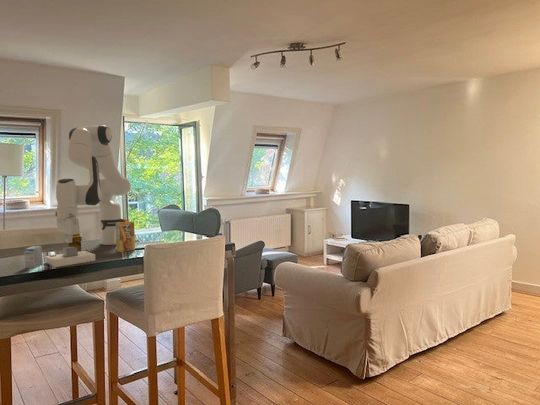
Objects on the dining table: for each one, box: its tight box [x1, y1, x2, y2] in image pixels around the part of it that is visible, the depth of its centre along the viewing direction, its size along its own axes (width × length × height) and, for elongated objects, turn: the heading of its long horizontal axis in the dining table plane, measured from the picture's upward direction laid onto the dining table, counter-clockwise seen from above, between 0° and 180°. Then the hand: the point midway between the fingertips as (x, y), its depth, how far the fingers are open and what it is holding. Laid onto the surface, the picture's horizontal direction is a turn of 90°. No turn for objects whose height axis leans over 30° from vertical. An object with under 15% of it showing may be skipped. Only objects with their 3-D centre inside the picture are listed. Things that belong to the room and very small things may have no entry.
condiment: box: [67, 232, 82, 252], centre depth 223 cm, size 7×8×12 cm
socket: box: [45, 250, 96, 268], centre depth 203 cm, size 18×14×3 cm
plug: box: [62, 246, 78, 257], centre depth 203 cm, size 5×5×6 cm
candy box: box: [116, 220, 136, 253], centre depth 227 cm, size 9×4×15 cm, turn 142°
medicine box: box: [23, 245, 44, 269], centre depth 195 cm, size 8×4×9 cm, turn 5°
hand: (69, 242), depth 202 cm, fingers closed
